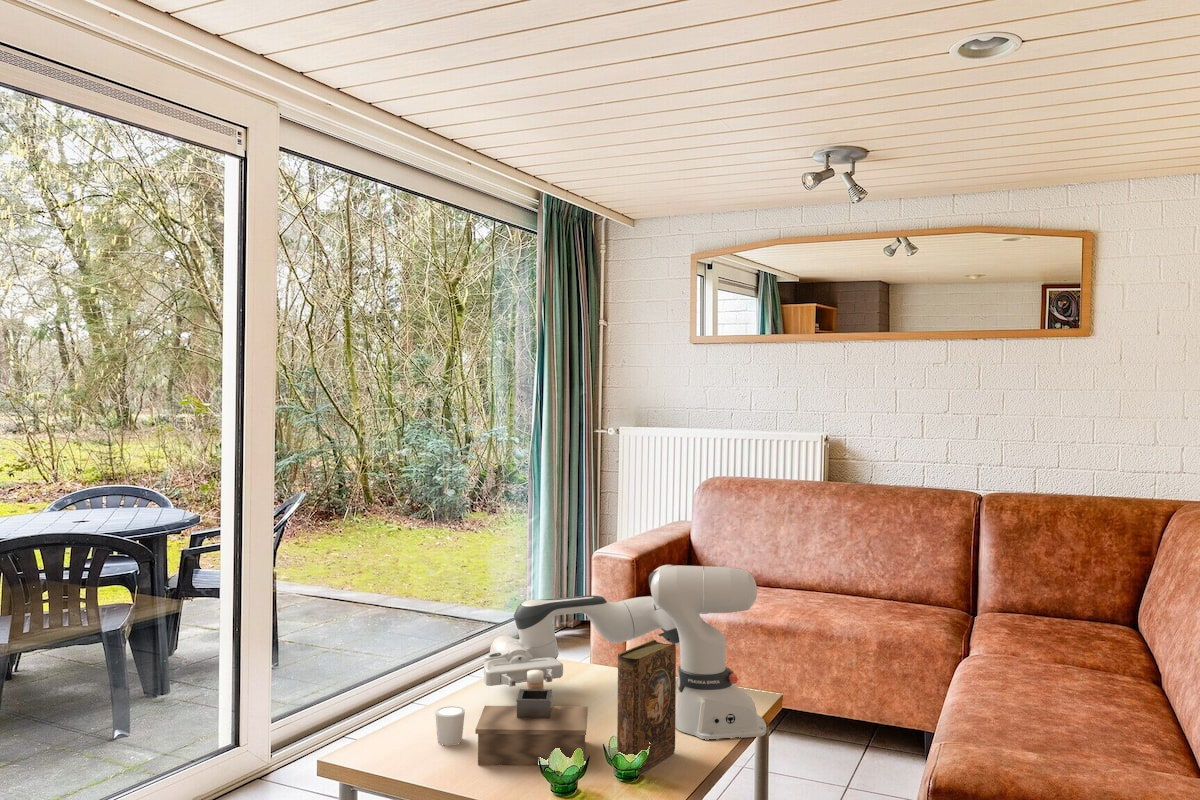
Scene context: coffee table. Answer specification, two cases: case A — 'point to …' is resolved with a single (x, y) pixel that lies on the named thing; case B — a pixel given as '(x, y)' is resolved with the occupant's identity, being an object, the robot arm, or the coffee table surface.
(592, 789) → the coffee table surface
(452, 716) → the white cup
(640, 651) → the book
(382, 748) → the coffee table surface
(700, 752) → the coffee table surface
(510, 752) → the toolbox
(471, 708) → the coffee table surface
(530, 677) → the white tipped wooden peg
